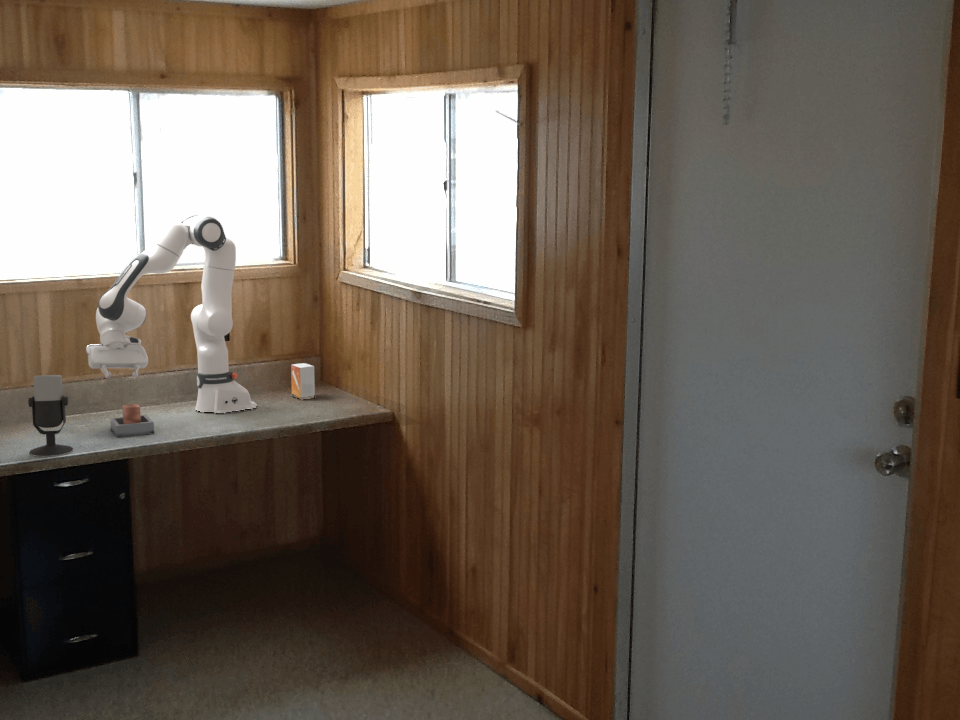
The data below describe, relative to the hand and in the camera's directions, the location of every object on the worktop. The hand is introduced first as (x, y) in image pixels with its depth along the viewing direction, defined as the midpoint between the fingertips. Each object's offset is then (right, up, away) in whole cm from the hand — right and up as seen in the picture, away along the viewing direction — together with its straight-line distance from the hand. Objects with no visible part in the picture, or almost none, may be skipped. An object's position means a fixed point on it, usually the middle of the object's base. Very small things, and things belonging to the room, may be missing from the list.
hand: (122, 377), depth 394 cm
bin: (+5, -19, -5) cm, 20 cm away
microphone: (-13, -24, -31) cm, 41 cm away
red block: (+5, -18, -5) cm, 19 cm away
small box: (+55, -9, +50) cm, 75 cm away
